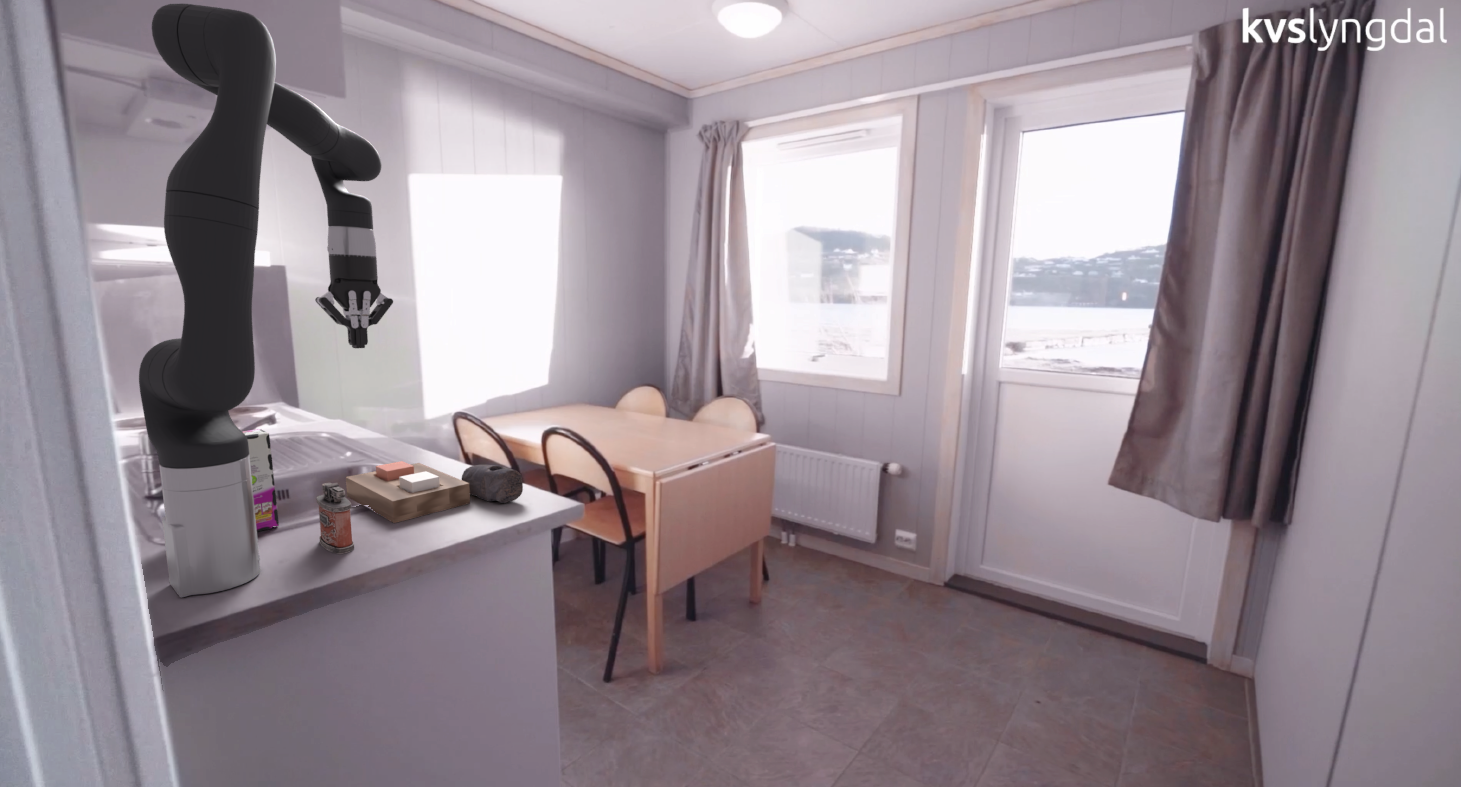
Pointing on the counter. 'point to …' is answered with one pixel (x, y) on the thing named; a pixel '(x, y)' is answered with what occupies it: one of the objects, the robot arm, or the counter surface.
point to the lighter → (335, 519)
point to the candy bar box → (262, 479)
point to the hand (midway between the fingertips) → (358, 347)
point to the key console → (407, 495)
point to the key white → (419, 482)
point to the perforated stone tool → (493, 482)
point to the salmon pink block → (394, 470)
